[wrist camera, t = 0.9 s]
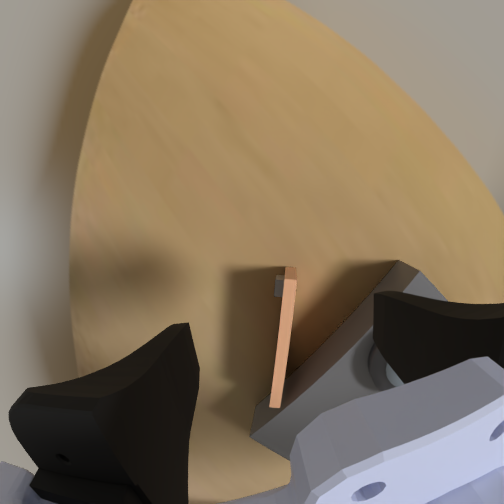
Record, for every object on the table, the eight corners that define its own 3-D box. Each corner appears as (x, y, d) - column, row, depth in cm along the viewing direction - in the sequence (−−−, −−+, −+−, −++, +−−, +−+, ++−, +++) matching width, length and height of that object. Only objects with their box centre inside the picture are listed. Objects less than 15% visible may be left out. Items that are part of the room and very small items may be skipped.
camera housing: (449, 313, 23) (483, 338, 17) (313, 442, 26) (315, 485, 20) (398, 260, 23) (429, 275, 17) (255, 406, 26) (246, 448, 20)
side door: (295, 267, 23) (297, 279, 19) (282, 380, 25) (279, 408, 21) (277, 265, 24) (275, 277, 19) (266, 378, 25) (261, 406, 21)
